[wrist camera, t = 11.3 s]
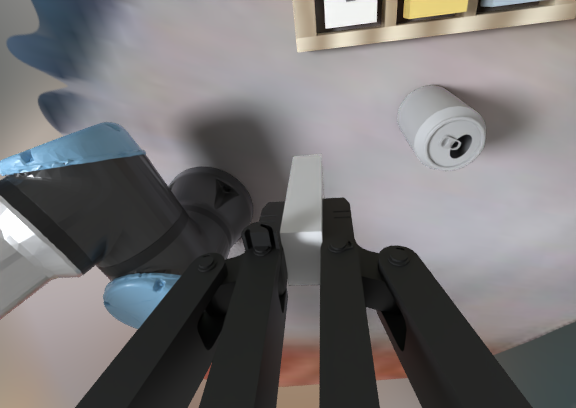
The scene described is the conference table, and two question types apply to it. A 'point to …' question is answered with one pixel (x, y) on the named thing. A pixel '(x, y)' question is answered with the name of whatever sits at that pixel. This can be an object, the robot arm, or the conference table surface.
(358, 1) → the tile
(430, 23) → the frame
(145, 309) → the robot arm
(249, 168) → the conference table surface
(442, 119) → the can
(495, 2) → the tile
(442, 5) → the tile
